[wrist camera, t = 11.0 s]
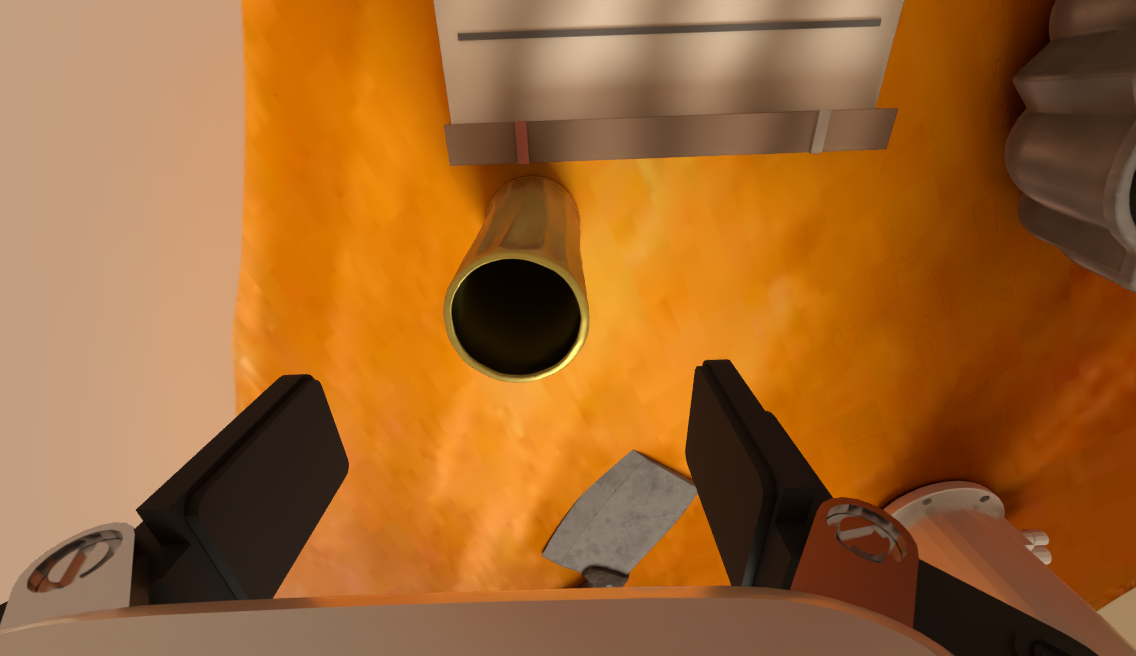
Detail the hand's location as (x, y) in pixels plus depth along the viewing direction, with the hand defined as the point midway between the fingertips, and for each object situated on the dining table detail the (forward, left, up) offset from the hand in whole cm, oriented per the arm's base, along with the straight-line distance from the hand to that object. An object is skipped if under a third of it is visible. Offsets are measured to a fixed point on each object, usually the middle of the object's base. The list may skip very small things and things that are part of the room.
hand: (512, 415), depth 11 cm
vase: (0, 0, -19) cm, 19 cm away
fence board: (-8, -9, -19) cm, 23 cm away
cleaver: (-3, +34, -20) cm, 40 cm away
